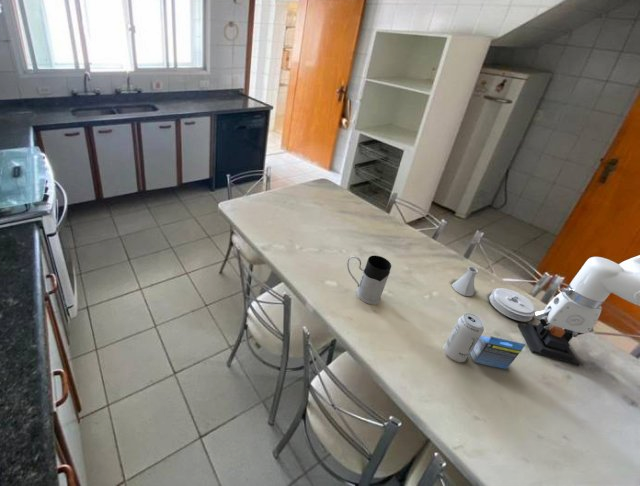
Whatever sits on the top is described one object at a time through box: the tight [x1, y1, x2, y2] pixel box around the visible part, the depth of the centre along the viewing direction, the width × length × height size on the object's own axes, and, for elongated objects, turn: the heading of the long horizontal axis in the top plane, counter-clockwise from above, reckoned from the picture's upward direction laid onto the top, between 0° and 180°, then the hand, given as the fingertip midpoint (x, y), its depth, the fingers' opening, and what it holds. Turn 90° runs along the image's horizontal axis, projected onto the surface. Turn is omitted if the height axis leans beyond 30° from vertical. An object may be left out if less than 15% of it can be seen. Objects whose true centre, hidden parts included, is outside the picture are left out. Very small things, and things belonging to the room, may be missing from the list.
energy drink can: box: [443, 313, 485, 363], centre depth 95 cm, size 6×6×15 cm
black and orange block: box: [536, 322, 570, 351], centre depth 102 cm, size 5×7×5 cm
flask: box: [451, 266, 479, 297], centre depth 121 cm, size 7×7×10 cm
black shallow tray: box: [517, 322, 581, 367], centre depth 104 cm, size 12×11×2 cm
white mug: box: [346, 255, 392, 306], centre depth 115 cm, size 9×14×15 cm, turn 60°
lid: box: [488, 287, 537, 323], centre depth 116 cm, size 13×13×5 cm
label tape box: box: [469, 335, 526, 370], centre depth 94 cm, size 9×4×12 cm, turn 78°
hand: (551, 337), depth 103 cm, fingers closed on black and orange block, 5 cm apart
